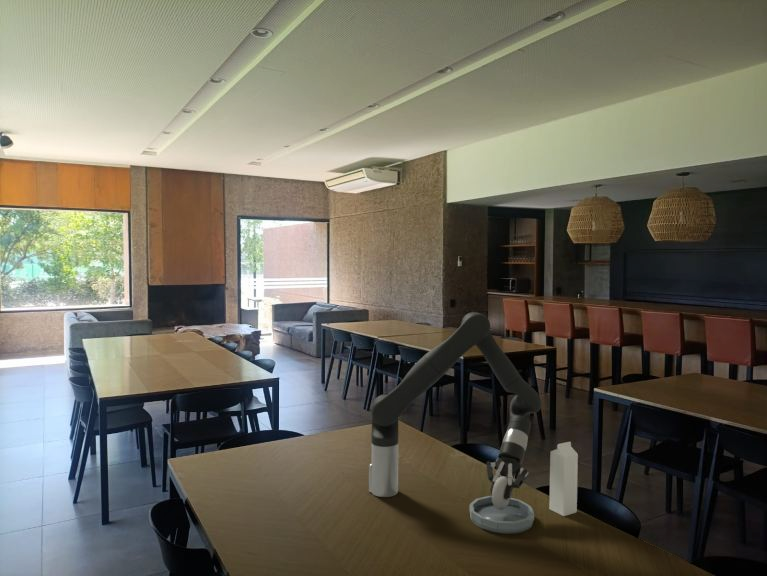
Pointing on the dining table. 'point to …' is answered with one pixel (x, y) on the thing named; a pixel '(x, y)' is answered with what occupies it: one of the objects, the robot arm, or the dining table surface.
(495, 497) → the donut
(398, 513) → the dining table surface
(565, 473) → the milk
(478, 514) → the bowl
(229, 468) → the dining table surface
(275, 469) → the dining table surface
